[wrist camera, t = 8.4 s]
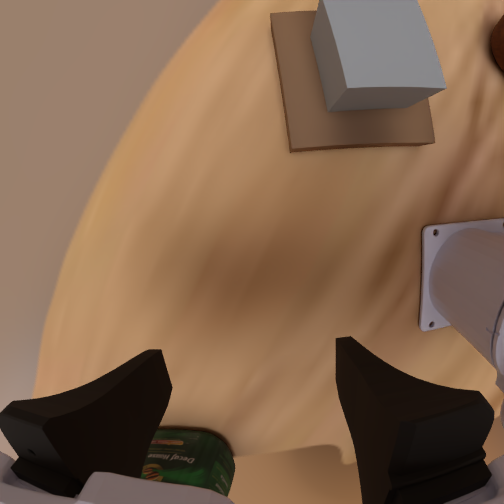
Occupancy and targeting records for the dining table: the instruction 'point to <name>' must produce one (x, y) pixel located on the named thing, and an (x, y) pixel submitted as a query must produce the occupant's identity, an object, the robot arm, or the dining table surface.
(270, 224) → the dining table surface
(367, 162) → the dining table surface
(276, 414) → the dining table surface
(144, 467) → the coffee jar
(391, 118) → the walnut block
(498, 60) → the wooden figurine
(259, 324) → the dining table surface
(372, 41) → the slate cube
